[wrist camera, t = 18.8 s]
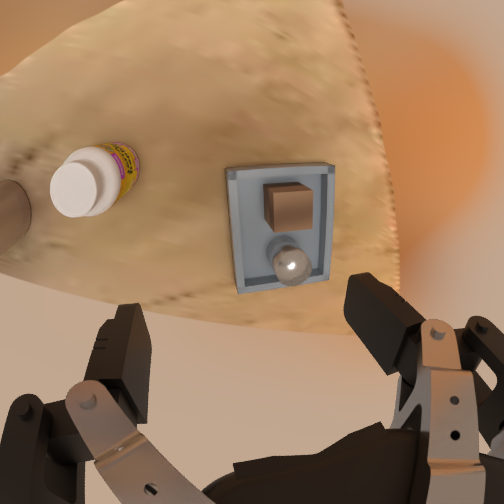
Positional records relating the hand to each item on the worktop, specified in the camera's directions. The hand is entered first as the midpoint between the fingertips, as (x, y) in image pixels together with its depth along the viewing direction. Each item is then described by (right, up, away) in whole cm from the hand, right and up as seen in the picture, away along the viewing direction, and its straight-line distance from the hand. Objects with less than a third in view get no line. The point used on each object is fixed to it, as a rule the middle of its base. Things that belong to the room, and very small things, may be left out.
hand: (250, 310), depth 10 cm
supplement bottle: (-17, +12, +20) cm, 29 cm away
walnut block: (+4, +9, +25) cm, 26 cm away
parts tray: (+4, +6, +27) cm, 28 cm away
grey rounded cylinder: (+4, +2, +28) cm, 28 cm away
